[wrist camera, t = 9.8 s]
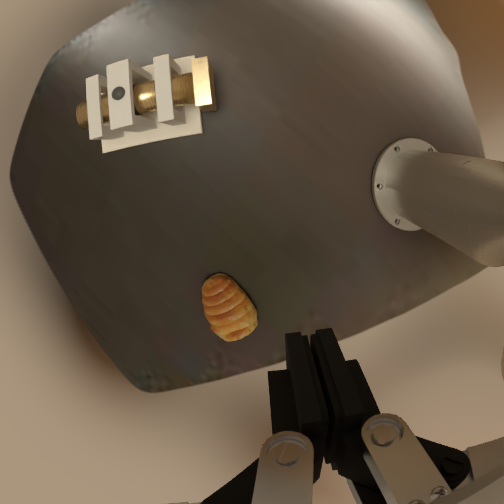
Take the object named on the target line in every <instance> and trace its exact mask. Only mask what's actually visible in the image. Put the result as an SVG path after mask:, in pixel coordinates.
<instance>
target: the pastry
mask: <svg viewBox="0 0 504 504" xmlns="http://www.w3.org/2000/svg"><path fill="white" fill-rule="evenodd" d="M202 302H203V305H204V311H205V317H206V318H207V320H208V321H209V322H210V324H211V326H210V328H211V330H212V331H213V332H214V333H216V334H217V335H218V336H219V337H221V338H222V339H224V340H225V341H235V340H238V339H242V338H243V337H245V336H246V335H249V334H250V333H251V332H252V331H253V330H254V329H255V327H256V326H257V324H258V321H257V311H256V308H255V307H254V305H253V303H252V302H251V301H250V299H249V298H248V296H247V295H246V294H245V292H244V291H243V290H242V289H241V288H240V287H239V286H238V284H237V283H236V282H235V281H234V280H233V279H232V278H230V277H229V276H227V275H225V274H222V273H218V274H215V275H212V276H211V277H210V278H208V279H207V280H206V281H205V282H204V284H203V286H202Z"/></svg>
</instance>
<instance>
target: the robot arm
mask: <svg viewBox="0 0 504 504" xmlns="http://www.w3.org/2000/svg"><path fill="white" fill-rule="evenodd" d="M394 147H395V150H394ZM377 184H378V187H377ZM372 194H373V199H374V202H375V205H376V207H377V209H378V211H379V213H380V214H381V215H382V217H383V218H384V219H385V220H386V221H387V222H389V223H390V224H391V225H393V226H394V227H396V228H399V229H401V230H406V231H416V230H420V229H423V230H425V231H427V232H429V233H431V234H432V235H434V236H436V237H437V238H439V239H441V240H443V241H444V242H446V243H448V244H449V245H451V246H452V247H454V248H456V249H457V250H459V251H461V252H462V253H464V254H465V255H467V256H469V257H471V258H472V259H474V260H475V261H477V262H479V263H481V264H483V265H486V266H490V267H500V266H504V162H501V161H494V160H489V159H483V158H477V157H471V156H464V155H457V154H449V153H441V152H438V151H437V150H436V149H435V148H434V147H433V146H432V145H430V144H429V143H427V142H425V141H423V140H420V139H415V138H405V139H400V140H397V141H395V142H393V143H391V144H390V145H389V146H387V147H386V148H385V149H384V151H383V152H382V153H381V154H380V156H379V158H378V159H377V161H376V164H375V167H374V169H373V175H372ZM395 220H396V221H395ZM285 344H286V366H287V369H286V370H278V371H268V382H269V394H270V408H271V420H272V433H273V435H272V436H270V437H269V438H267V439H266V440H265V442H264V443H263V444H262V447H261V450H260V456H259V458H258V459H257V460H255V461H254V462H253V463H252V464H251V465H250V466H248V467H247V468H246V469H245V470H243V471H242V472H241V473H240V474H238V475H237V476H236V477H235V478H233V479H232V480H231V481H229V482H228V483H227V484H225V485H224V486H223V487H221V488H220V489H219V490H217V491H216V492H215V493H213V494H212V495H210V496H209V497H208V498H206V499H205V500H203V501H202V502H200V503H191V504H312V495H313V484H314V483H315V482H316V481H317V480H318V478H319V477H320V472H321V467H322V462H323V457H324V459H325V463H326V464H329V463H331V466H332V470H337V469H338V474H339V475H341V476H344V477H345V478H346V480H347V483H348V485H349V488H350V490H351V492H352V494H353V497H354V499H355V501H356V503H357V504H504V437H502V438H499V439H496V440H493V441H489V442H486V443H483V444H479V445H476V446H472V447H468V448H467V449H466V450H465V451H460V450H458V449H455V448H451V447H448V446H445V445H442V444H438V443H435V442H432V441H429V440H426V439H423V438H420V437H417V436H415V435H414V434H413V432H412V431H411V429H410V428H409V426H408V425H407V423H406V422H405V421H404V420H403V419H402V418H400V417H399V416H397V415H393V414H389V413H382V414H381V413H380V411H379V409H378V406H377V404H376V401H375V399H374V397H373V394H372V392H371V390H370V388H369V386H368V383H367V381H366V378H365V376H364V374H363V372H362V369H361V367H360V365H359V363H358V361H357V360H356V359H354V360H348V361H345V359H344V357H343V354H342V352H341V349H340V347H339V344H338V342H337V339H336V337H335V335H334V332H333V330H332V328H327V329H319V330H316V334H312V335H311V339H310V345H309V341H308V338H307V335H304V336H302V335H301V332H296V333H287V334H285ZM501 371H502V376H503V380H504V348H503V352H502V358H501ZM170 504H189V503H188V502H182V503H170Z"/></svg>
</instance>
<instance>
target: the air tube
mask: <svg viewBox="0 0 504 504" xmlns="http://www.w3.org/2000/svg"><path fill="white" fill-rule="evenodd" d="M191 63H192V72H190V73H184V74H179V75H174V76H171V80H172V92H173V103H174V107H177V106H182V105H188V104H194V103H195V106H196V107H197V108H199V109H200V110H201V111H202V112H208V111H215V110H217V104H216V94H215V84H214V74H213V68H212V66H211V64H210V62H209V59H208V57H201V58H195V59H191ZM132 86H133V100H134V112H135V115H136V116H139V115H142V114H144V113H148V112H153V111H157V102H156V91H155V80H152V81H148V82H144V83H140V84H133V85H132ZM101 101H102V115H103V124H106V123H110V117H109V105H108V93H106V94H103V95H101ZM76 116H77V121H78V123H79V125H80V127H81V128H82V129H84V130H87V129H89V124H88V111H87V100H85V101H83V102H80V103H79V104H78V106H77V110H76Z"/></svg>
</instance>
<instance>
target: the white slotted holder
mask: <svg viewBox="0 0 504 504" xmlns="http://www.w3.org/2000/svg"><path fill="white" fill-rule="evenodd" d="M195 58H196V57H195V56H188V57H183V58H178V59H173V58H172V57H171V56H170V55H169V54H166V55H162V56H158V57H153V62H154V64H152V65H148V66H144V67H140V66H138V65H137V64H135V63H134V62H132V61H131V60H129V59H125V60H122V61H119V62H116V63H113V64H110V65H107V78H106V77H104V76H101V75H99V74H97V75H95V76H92V77H89V78H87V79H86V94H87V111H88V124H89V134H90V140H101V141H102V149H103V153H108V152H112V151H116V150H120V149H124V148H128V147H133V146H137V145H142V144H146V143H151V142H156V141H161V140H166V139H172V138H177V137H183V136H189V135H196V134H202V133H203V127H202V117H201V110H200V109H199V108H197V107H196V106H195V103H194V104H188V105H182V106H177V107H174V103H173V92H172V80H171V76H174V75H179V74H184V73H190V72H192V63H191V59H195ZM152 80H155V91H156V102H157V111H153V112H148V113H144V114H142V115H139V116H136V115H135V112H134V100H133V86H132V85H133V84H140V83H144V82H148V81H152ZM106 93H108V105H109V117H110V123H106V124H103V115H102V101H101V95H103V94H106Z"/></svg>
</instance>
